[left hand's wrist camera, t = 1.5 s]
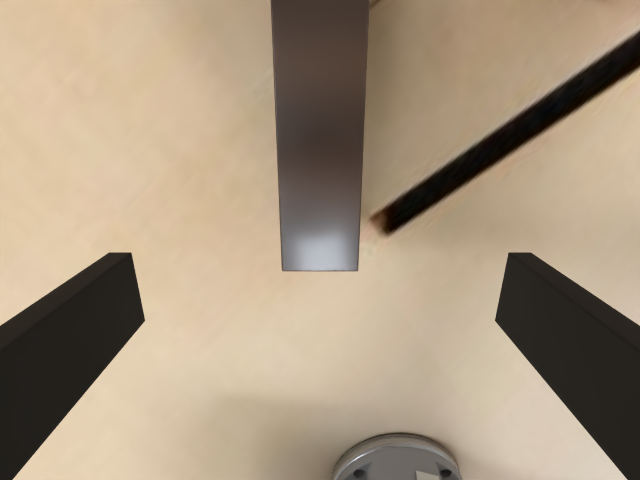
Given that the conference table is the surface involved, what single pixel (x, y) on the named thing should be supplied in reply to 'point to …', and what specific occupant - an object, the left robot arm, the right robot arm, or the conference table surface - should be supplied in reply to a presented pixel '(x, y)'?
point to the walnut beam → (320, 129)
